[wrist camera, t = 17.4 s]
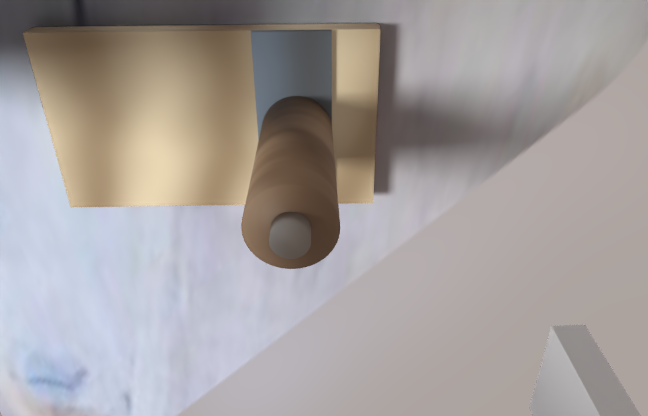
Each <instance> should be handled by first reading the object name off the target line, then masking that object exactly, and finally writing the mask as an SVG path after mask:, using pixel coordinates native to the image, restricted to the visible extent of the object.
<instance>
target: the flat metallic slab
mask: <svg viewBox="0 0 648 416" xmlns="http://www.w3.org/2000/svg"><path fill="white" fill-rule="evenodd" d="M380 31H381V29H380V27H379V24H378V23H348V24H261V25H174V26H87V27H33V28H31V29H29V30H28V31H26V32H24V33H23V37H24V41H25V44H26V48H27V51H28V55H29V59H30V62H31V66H32V69H33V73H34V77H35V80H36V84H37V87H38V91H39V95H40V98H41V102H42V105H43V109H44V113H45V116H46V120H47V123H48V127H49V131H50V134H51V138H52V141H53V145H54V149H55V152H56V156H57V159H58V163H59V167H60V170H61V174H62V177H63V181H64V185H65V188H66V192H67V195H68V199H69V203H70V206H71V207H122V206H191V205H245V203H246V198H247V194H248V189H249V184H250V179H251V175H252V170H253V165H254V160H255V156H256V151H257V146H258V142H259V137H260V132H261V127H262V123H263V119H264V116H265V114H266V112H267V111H268V109H269V108H270V107H271V106H272V105H273V104H274V103H276V102H277V101H279V100H281V99H283V98H286V97H290V96H303V97H307V98H310V99H312V100H314V101H316V102H318V103H319V104H320V105H321V106H322V107H323V108H324V109H325V110H326V112H327V113H328V115H329V117H330V120H331V124H332V134H333V146H334V159H335V171H336V183H337V196H338V203H373V195H374V171H375V148H376V125H377V101H378V78H379V54H380Z"/></svg>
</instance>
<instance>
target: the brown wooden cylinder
mask: <svg viewBox="0 0 648 416" xmlns="http://www.w3.org/2000/svg"><path fill="white" fill-rule="evenodd" d="M241 227H242V235H243V238H244V241H245V243H246V245H247V246H248V248H249V249H250V251H251V252H252V253H253V254H254V255H255V256H257V257H258V258H259V259H261V260H262V261H264V262H266V263H268V264H270V265H273V266H276V267H280V268H287V269H296V268H303V267H307V266H311V265H313V264H315V263H317V262H319V261H321V260H322V259H324V258H325V257H326V256H327V255H328V254H329V253H330V252H331V251H332V250H333V248H334V247H335V245H336V243H337V241H338V238H339V234H340V220H339V208H338V196H337V183H336V171H335V159H334V146H333V134H332V124H331V120H330V117H329V115H328V113H327V112H326V110H325V109H324V108H323V107H322V106H321V105H320V104H319V103H318V102H316V101H314V100H312V99H310V98H307V97H303V96H290V97H286V98H283V99H281V100H279V101H277V102H276V103H274V104H273V105H272V106H271V107H270V108H269V109H268V111H267V112H266V114H265V116H264V119H263V123H262V127H261V132H260V137H259V142H258V146H257V151H256V156H255V160H254V165H253V170H252V175H251V179H250V184H249V189H248V194H247V198H246V203H245V208H244V213H243V217H242V224H241Z"/></svg>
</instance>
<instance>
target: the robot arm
mask: <svg viewBox="0 0 648 416" xmlns="http://www.w3.org/2000/svg"><path fill="white" fill-rule="evenodd" d="M529 408H530V411H531V413H532V415H533V416H641V415H640V414H639V412H638V410H637V409H636V407H635V405H634V404H633V402H632V400H631V399H630V397H629V396H628V394H627V392H626V391H625V389H624V387H623V386H622V384H621V383H620V381H619V379H618V378H617V376H616V374H615V373H614V371H613V369H612V368H611V366H610V365H609V363H608V362H607V360H606V358H605V357H604V355H603V353H602V352H601V350H600V348H599V347H598V345H597V343H596V342H595V340H594V339H593V337H592V335H591V334H590V332H589V330H588V329H587V327H586V326H585V325H569V326H551V330H550V334H549V338H548V341H547V345H546V348H545V352H544V356H543V359H542V363H541V366H540V370H539V374H538V378H537V381H536V385H535V388H534V392H533V396H532V399H531V403H530V407H529ZM0 416H2V415H1V413H0Z"/></svg>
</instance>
